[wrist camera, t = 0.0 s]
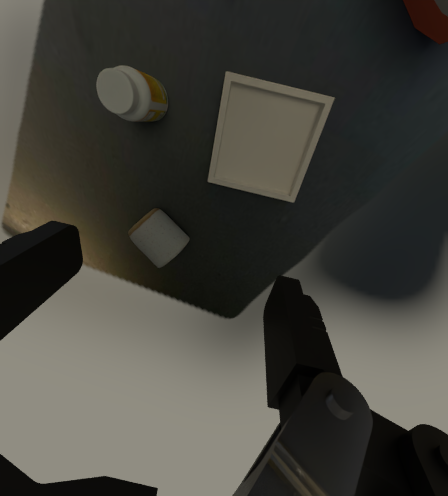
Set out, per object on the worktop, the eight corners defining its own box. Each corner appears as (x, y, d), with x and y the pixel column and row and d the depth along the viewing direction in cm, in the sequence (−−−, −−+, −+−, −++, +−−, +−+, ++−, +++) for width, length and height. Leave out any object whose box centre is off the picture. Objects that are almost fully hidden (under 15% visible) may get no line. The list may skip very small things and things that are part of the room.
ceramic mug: (162, 199, 39) (142, 216, 32) (194, 232, 41) (183, 254, 35) (128, 232, 43) (105, 253, 37) (159, 260, 46) (143, 284, 39)
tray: (228, 74, 29) (225, 71, 27) (328, 99, 29) (334, 97, 27) (210, 178, 36) (207, 181, 34) (291, 197, 36) (293, 202, 34)
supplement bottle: (163, 127, 33) (134, 130, 25) (129, 111, 32) (87, 108, 24) (173, 86, 30) (144, 74, 22) (136, 67, 30) (91, 48, 22)
